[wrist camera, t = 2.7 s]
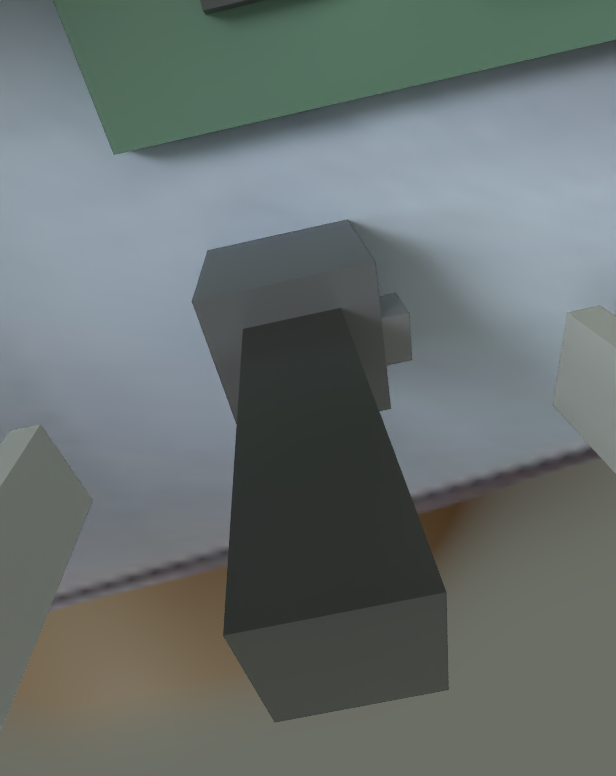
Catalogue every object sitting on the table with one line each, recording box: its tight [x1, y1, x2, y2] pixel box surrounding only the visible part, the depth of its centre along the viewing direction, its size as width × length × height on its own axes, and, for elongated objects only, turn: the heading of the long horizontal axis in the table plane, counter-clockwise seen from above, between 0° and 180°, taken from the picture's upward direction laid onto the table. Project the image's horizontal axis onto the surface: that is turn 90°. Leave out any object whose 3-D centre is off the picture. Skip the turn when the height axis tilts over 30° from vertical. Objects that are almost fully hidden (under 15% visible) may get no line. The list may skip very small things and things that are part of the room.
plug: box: [192, 220, 449, 722], centre depth 12 cm, size 6×5×13 cm
